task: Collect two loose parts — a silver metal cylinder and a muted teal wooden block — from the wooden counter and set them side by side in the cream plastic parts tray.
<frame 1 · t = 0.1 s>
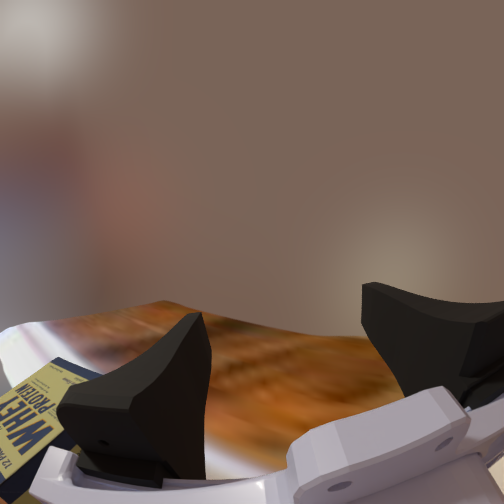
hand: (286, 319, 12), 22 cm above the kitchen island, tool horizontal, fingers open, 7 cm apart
parts tray: (485, 469, 11), on the kitchen island
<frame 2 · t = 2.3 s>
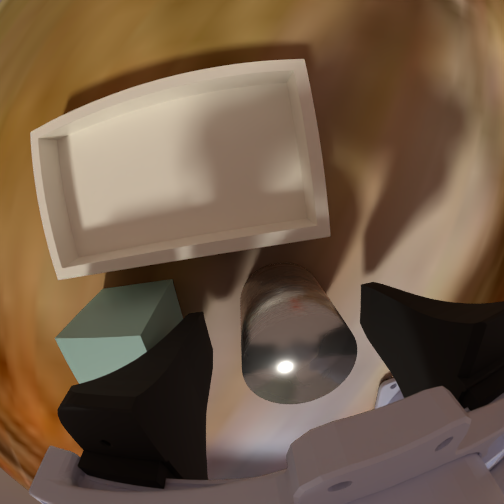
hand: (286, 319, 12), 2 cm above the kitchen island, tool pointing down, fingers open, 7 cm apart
parts tray: (170, 169, 11), on the kitchen island
teal block: (147, 318, 13), on the kitchen island, touching gripper
silver metal cylinder: (281, 301, 13), on the kitchen island
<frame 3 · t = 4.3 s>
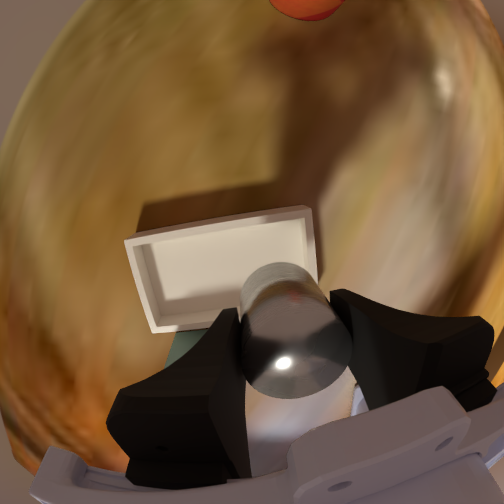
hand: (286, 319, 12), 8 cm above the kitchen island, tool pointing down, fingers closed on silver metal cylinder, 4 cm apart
parts tray: (225, 266, 20), on the kitchen island
teal block: (205, 349, 22), on the kitchen island
silver metal cylinder: (279, 299, 14), point 6 cm above the kitchen island, touching gripper
when the fingers open (3 cm above the kitchen island, at t = 5.6 s): silver metal cylinder stays where it is, resting on parts tray.
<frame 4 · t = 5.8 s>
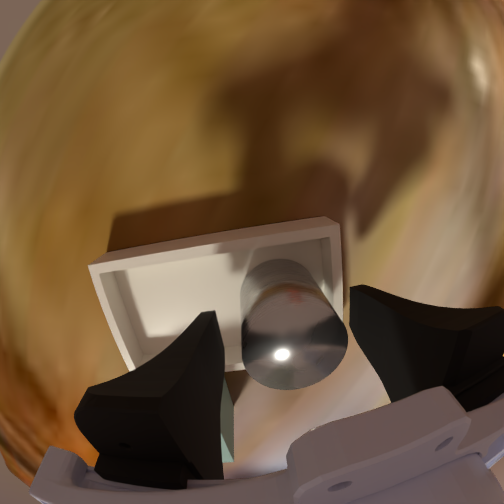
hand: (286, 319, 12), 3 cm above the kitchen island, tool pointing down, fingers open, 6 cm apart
parts tray: (221, 296, 15), on the kitchen island
teal block: (199, 390, 17), on the kitchen island
silver metal cylinder: (278, 294, 14), point 1 cm above the kitchen island, touching parts tray
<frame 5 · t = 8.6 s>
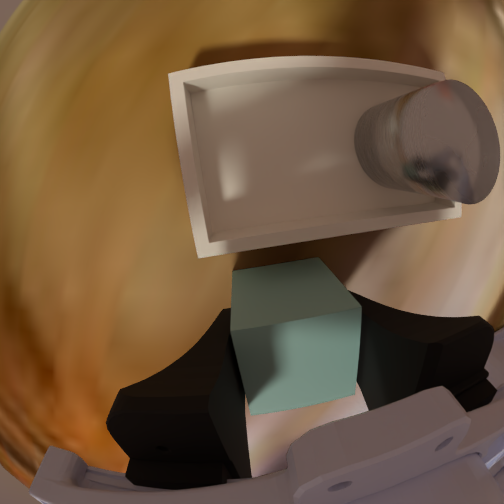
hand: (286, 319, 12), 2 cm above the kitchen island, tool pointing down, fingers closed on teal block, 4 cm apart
parts tray: (328, 145, 11), on the kitchen island
teal block: (280, 302, 13), on the kitchen island, touching gripper
silver metal cylinder: (392, 145, 11), point 1 cm above the kitchen island, touching parts tray
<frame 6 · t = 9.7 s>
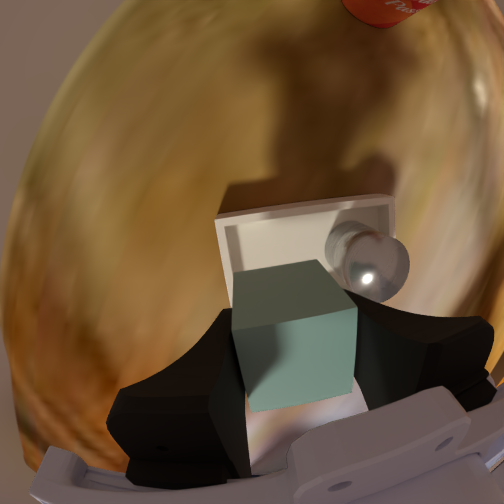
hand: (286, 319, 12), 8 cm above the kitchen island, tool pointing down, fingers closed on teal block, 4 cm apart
paper cup: (369, 5, 14), on the kitchen island
parts tray: (308, 249, 20), on the kitchen island
teal block: (280, 303, 13), point 7 cm above the kitchen island, touching gripper
silver metal cylinder: (350, 247, 19), point 1 cm above the kitchen island, touching parts tray
when the fingers open (3 cm above the kitchen island, at t = 11.1 s): teal block stays where it is, resting on parts tray.
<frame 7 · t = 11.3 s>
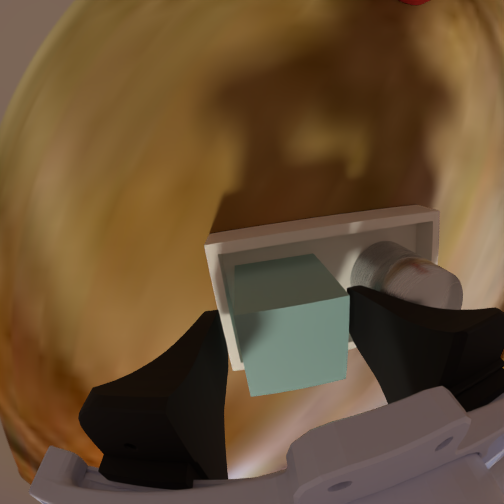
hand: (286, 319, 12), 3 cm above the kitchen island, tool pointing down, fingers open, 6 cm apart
parts tray: (329, 278, 15), on the kitchen island
teal block: (278, 295, 14), point 1 cm above the kitchen island, touching parts tray
silver metal cylinder: (381, 275, 14), point 1 cm above the kitchen island, touching gripper, parts tray
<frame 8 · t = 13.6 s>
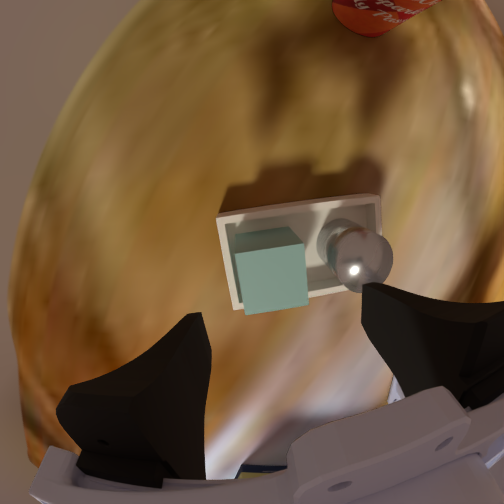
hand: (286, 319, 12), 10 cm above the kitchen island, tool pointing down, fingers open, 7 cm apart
paper cup: (360, 15, 16), on the kitchen island
parts tray: (301, 245, 22), on the kitchen island
teal block: (265, 255, 21), point 1 cm above the kitchen island, touching parts tray
silver metal cylinder: (340, 243, 21), point 1 cm above the kitchen island, touching parts tray
protein box: (280, 477, 33), on the kitchen island
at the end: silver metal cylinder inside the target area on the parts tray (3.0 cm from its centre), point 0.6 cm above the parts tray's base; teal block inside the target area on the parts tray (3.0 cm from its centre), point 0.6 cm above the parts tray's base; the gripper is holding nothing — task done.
